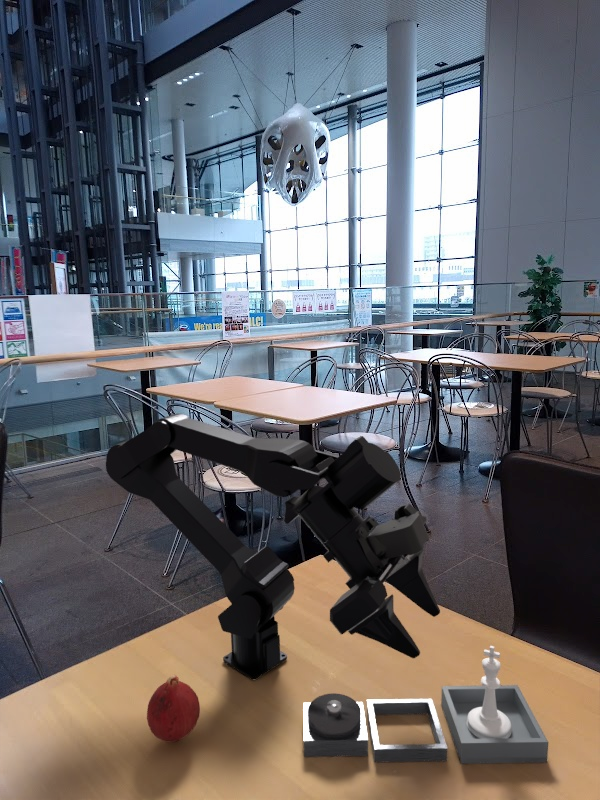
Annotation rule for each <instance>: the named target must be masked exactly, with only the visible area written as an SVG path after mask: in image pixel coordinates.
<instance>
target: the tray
mask: <svg viewBox="0 0 600 800" xmlns="http://www.w3.org/2000/svg"><path fill="white" fill-rule="evenodd" d="M485 689H486V687H484V686H483V685H441V698H440V699H441V700H440V701H441V703H440V705H441V708H442V711H443V714H444V717H445V720H446V723H447V726H448V728H449V731H450V736H451V738H452V741H453V744H454V748H455V750H456V754H457V756H458V759H459V763H460V764H462V765H463V764H466V765H467V764H469V765H470V764H471V765H472V764H520V763H521V764H526V763H529V764H530V763H538V764H539V763H548V756H549V755H548V753H549V741H548V739H547V737H546V735H545V733H544V731H543V729H542V728H541V726H540V724H539V722H538V720H537V717H536V716H535V715H534V713H533V711H532V709H531V707H530V705H529V703H528V701H527V700H526V697H525V696H524V694H523V691H522V690H521V688H520V686H519V685H518V684H509V685H508V684H503V685H500V687H499V688H498V689H495V697H496V707H497V710H499V711H501V712H502V713H504V714H505V715H506V716H507V717H508V719H509V720H510V722H511V728H512V733H511V735H510V737H509V738H495V739H480V738H478V737H476V736H475V735H474V734H472V733H471V731H470V730H469V729H468V727H467V716H468V714H469V712H470V711H471V710H472V709H474V708H477V707H482V706H483V701H484V696H485Z"/></svg>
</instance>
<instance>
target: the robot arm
mask: <svg viewBox="0 0 600 800" xmlns="http://www.w3.org/2000/svg"><path fill="white" fill-rule="evenodd" d="M176 451H180V452H182V453H185V454H188V455H191V456H194V457H196V458H197V457H198V458H200V459H203V460H206V461H210V462H212V463H216V464H218V465H222V466H224V467H227V468H230V469H233V470H235V471H236V470H237V471H238V472H240V473H242V474H244V475H245V476H246V477H247V478H248V479H249V480H250V482H251V483H252V484H253V485H254V486H256V487H258V488H259V489H262V490H264V491H265V492H267V493H269V494H270V495H273V496H275V497H277V498H278V497H279V498H287V497H289V496H291V495H293V494H295V493H296V492H298V491H301V490H306V491H305V492H304V493H303V494H302V495H300V496H295V495H294V496H291V497H290V498H288V499H287V500H285V502H284V505H285V512H284V519H283V521H284V522H283V523H285V524H286V525H289V524H290V523H292V521H294V520H296V519H297V518H298V517H299V518H300V519H301V520H302V521H303V522H304V523H305V525H306V526H307V528H309V530H311V532H312V533H313V535H314V536H315V537H316V538H317V539H318V540H319V542H320V543H321V545H323V547H324V548H325V549H326V550H327V551H326V552H325V553H324V554H323V556H322V557H323V558H324V559H325V560H326V562H327V563H330V562H331V561H333V560H335V561H336V562H337V564H338V565H339V566H340V567H341V569H343V571H344V572H345V574H346V575H347V576H348V578H349V579H348V580H347V581H346V582H345V583H344V584H345V585H346V586H347V588H349V589H348V590H347V591H345V592H344V593H343V594H342V595H341V596H340V597H339V598H338V599H337V600H336V602H335V603H334V604H333V605H332V606H331V608H330V609H329V622H330V623H331V624H332V625H333V627H334V628H335V629H336V631H338V633H339V634H340V635H344V634H345V633H347V632H348V634H350V635H351V636H352V635H354V634H358V635H361V636H362V637H365V638H368V639H371V640H373V641H376V642H378V643H380V644H381V645H382V644H383V645H385V646H386V647H388V648H390V649H393V650H395V651H397V652H399V653H401V654H403V655H405V656H407V657H409V658H411V659H416V658H417V657H419V656H420V655H421V651H420V649H419V647H418V646H417V644H416V642H415V641H414V638H413V637H412V636H411V635H410V633H409V632H408V630H407V629H406V627H405V626H404V625H403V624H402V622H401V621H400V619H399V618H398V616H397V615H396V613H395V611H394V594H393V593H392V594H390V596H388V592H387V589H386V585H384V583H385V582H387V583H388V584H389V585H390V586H392V587H393V588H394V589H396V590H397V591H398V592H400V594H402V595H404V596H405V597H406V598H407V599H408V600H409V601H410V602H412V603H414V604H415V605H416V606H417V607H419V608H420V609H421V610H422V611H424V612H425V613H427V614H429V615H430V616H432V617H434V618H436V617H437V616H439V615H440V614H441V609H440V607H439V604H438V603H437V600H436V598H435V596H434V594H433V592H432V589H431V587H430V585H429V583H428V581H427V578H426V576H425V573H424V570H423V568H422V567H423V566H422V565H423V555H424V553H425V548H424V547H425V546H424V545H425V543H426V542H429V540H430V536H429V534H428V531H427V529H426V527H425V524H426V523H427V517H426V516H425V515H422V513H421V511H420V510H417V509H416V508H415V507H414V506H413V505H412V504H410V503H409V502H408V503H405V504H402V505H399V506H398V507H397V508H396V509H395V510H394V517H393V518H389V520H388V521H387V522H383V523H379V522H378V521H377V520H376V519H375V518H374V517H371V516H370V515H368V516H367V517H366V518H363V517H362V516H361V514H359V512H358V511H357V510H356V509H358V510H365V509H367V508H368V507H369V506H371V504H372V503H374V502H375V501H376V500H378V499H379V498H380V497H382V496H383V494H385V493H386V492H387V491H389V490H390V489H391V488H392V487H393V486H394V485H396V484H397V483H398V482H399V481H400V480H401V477H402V476H401V475H402V474H401V469H400V468H399V465H398V463H397V462H396V461H395V459H394V457H392V455H391V454H390V453H389V452H388V451H387V450H386V451H385V450H384V449H383V448H381V447H380V446H378V445H377V444H375V443H371V442H369V441H368V440H367V439H366V438H365V437H364V436H363V435H360V436H359V437H357V438H355V439H354V440H352V441H351V442H350V444H348V446H346V449H345V450H344V451H343V452H342V453H341V454H340V455H336V454H335V455H334V454H331V453H329V452H324V451H321V450H316V449H315V447H314V446H313V445H312V444H311V443H309V442H307V441H305V440H301V439H293V438H285V437H284V438H281V437H274V438H273V437H272V438H270V437H269V438H260V437H259V438H258V437H254V436H250V435H246V434H243V433H241V432H236V431H233V430H231V429H227V428H223V427H219V426H217V425H214V424H210V423H207V422H203V421H200V420H197V419H193V418H191V417H189V416H188V415H186V414H183V413H174V414H172V415H168V416H165V417H163V418H162V417H161V418H159V419H156V420H155V422H153V423H152V424H151V425H149V426H148V427H147V428H146V429H145V430H143V431H141V432H140V433H138V434H136V435H135V436H133V437H132V438H130V439H129V440H127V441H123V442H120V443H117V444H114V445H113V446H111V447H110V448H109V449H108V451H107V453H106V457H105V470H106V473H107V475H108V476H109V478H110V479H111V480H112V481H113V482H114V483H116V484H117V485H118V486H120V488H122V489H123V490H124V491H126V492H127V493H129V494H131V495H134V496H137V497H140V498H142V499H146V500H149V501H150V502H152V504H153V505H154V506H155V507H156V508H157V509H158V510H159V511H160V512H161V513H162V514H163V515H164V516H165V517H166V518H167V520H169V521H170V523H171V524H173V525H174V527H175V528H176V529H177V530H178V531H179V532H180V533H181V534H182V535H183V536H184V537H185V538H186V539H187V540H188V542H190V543H191V544H192V545H193V547H194V548H195V549H196V550H197V551H198V552H199V553H200V554H201V555H202V556H203V558H204V559H206V560H207V561H208V562H209V564H211V565H212V567H214V568H215V570H216V571H217V572H218V573H219V575H220V578H221V581H222V585H223V589H224V593H225V596H226V598H227V600H228V601H229V602H230V605H229V606H227V607H226V608H225V609H224V610H223V611H222V612H221V613H220V614H218V616H217V619H218V622H219V626H220V627H221V630H222V631H223V632H225V633H227V634H230V641H231V642H230V643H231V647H230V648H231V652H229V653H227V654H226V655H224V656H223V657H222V658H223V662H224V663H225V664H227V665H228V666H230V667H231V668H233V669H235V670H236V671H237V672H239V673H240V674H242V675H243V676H245V677H247V678H249V679H250V680H252V681H255V680H257V679H260V677H261V676H264V675H265V674H266V673H268V672H269V671H271V670H273V669H274V668H276V667H277V666H279V665H280V664H282V663H283V662H285V661H286V660H287V659H288V654H287V653H286V652H285V653H284V651H281V643H280V642H281V641H280V640H281V639H280V635H279V625H278V624H279V623H278V621H276V619H275V618H276V615H277V614H278V612H279V611H281V610H282V609H283V608H285V607H284V606H285V605H286V604H288V602H289V601H290V600H291V599H292V598H293V596H294V594H295V582H294V581H295V578H294V576H293V574H292V573H291V572H290V570H289V569H288V568H289V563H287V562H285V561H283V560H282V559H281V558H279V556H278V555H277V554H276V553H275V551H274V550H273V548H271V547H270V546H268V545H264V547H261V549H259V550H256V549H253V548H251V547H248V546H247V545H246V544H244V543H243V542H242V541H241V540H240V539H239V537H237V536H236V534H235V533H234V532H233V531H232V530H231V529H230V528H229V527H228V526H227V525H226V524H225V523H224V522H223V521H222V520H221V519H220V518H219V517H218V516H217V515H216V514H215V512H213V511H212V510H211V508H209V507H208V506H207V505H206V504H205V503H204V502H203V501H202V500H201V499H200V498H199V497H198V496H197V495H196V494H195V492H193V491H192V490H191V489H190V487H188V485H187V484H186V483H185V482H183V480H182V479H181V478H180V477H179V476H178V474H177V469H176V465H175V461H174V457H173V456H172V454H173V453H174V452H176ZM323 480H325V481H326V482H327V483H326V485H324V486H321V485H318V484H319V483H321V482H322V481H323Z"/></svg>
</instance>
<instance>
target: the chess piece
mask: <svg viewBox="0 0 600 800" xmlns="http://www.w3.org/2000/svg"><path fill="white" fill-rule="evenodd" d="M483 656H487V657H486V658H483V659H482V660H481V665H482V668H483V670H484V671H483V672H484V675H483V676H482V677H481V678H480V684H481V686H484V687H486V689H485V696H484V701H483V706H482V707H477V708H474V709H472V710H471V711H470V712H469V714H468V716H467V727H468V729H469V730H470V731H471V733H472V734H474V735H475V736H476V737H478V738H480V739H495V738H509V737H510V735H511V733H512V728H511V722H510V720H509V719H508V717H507V716H506V715H505V714H504V713H502V712H501V711H499V710H497V707H496V697H495V689H498V688H499V687H500V685H501V681H500V680H499V678H498V674H499V671H500V670H501V667H502V666H501V662H500V661H499V659H500V658H501V653H500V652H498V651H495V646H493V645H489V649H483Z"/></svg>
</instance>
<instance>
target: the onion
mask: <svg viewBox="0 0 600 800" xmlns="http://www.w3.org/2000/svg"><path fill="white" fill-rule="evenodd" d="M198 696H199V695H197V693H196V691H195V690H194V689H193V688H191V686H190V685H188V684H187V683H185V682H183V681H180V680H179V676H177V675H176V674H172V675H170V676H169V677H168V678H167V680H166V682H164V683H162V684H160V685H159V686H158V687H157V688H156V690H155V691H154V692H153V694H152V695H151V697H150V699H149V701H148V704H147V711H146V720H147V724H148V727H149V730H150V731H151V733H152V734H153V736H154V737H155V738H157V739H159V740H161V741H162V742H169V743H171V742H172V743H174V742H178V741H180V740H183V738H185V737H187V736H188V735H189V734H190V733H191V732H192V731H193V730H194V728H195V727H196V725H197V723H198V721H199V718H200V714H201V707H200V700H199V697H198Z"/></svg>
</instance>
